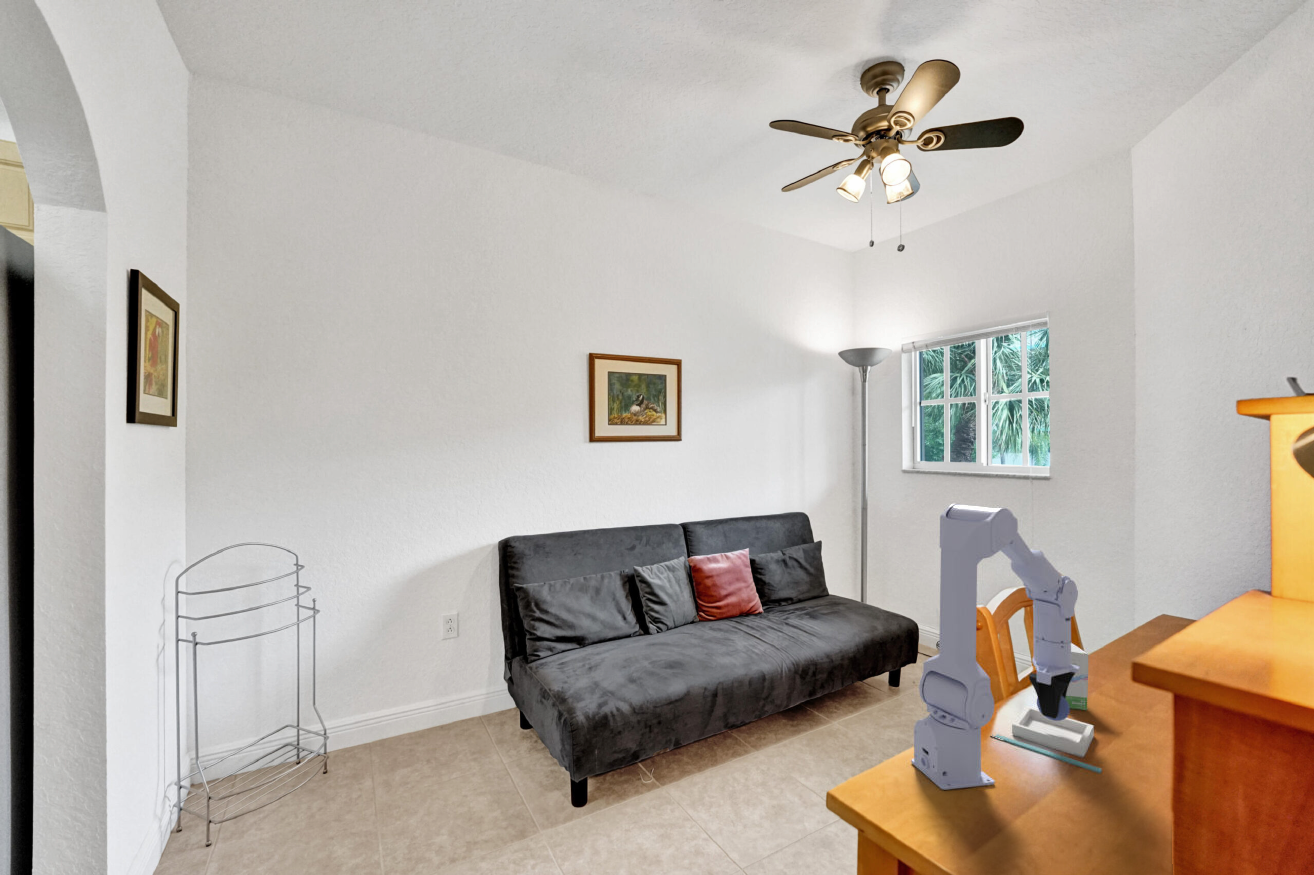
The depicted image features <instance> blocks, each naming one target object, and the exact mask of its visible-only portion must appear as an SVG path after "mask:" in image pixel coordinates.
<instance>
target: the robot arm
mask: <svg viewBox="0 0 1314 875" xmlns="http://www.w3.org/2000/svg"><path fill="white" fill-rule="evenodd" d="M1018 525H1019V523H1018V519H1017V517H1016V516H1015V515H1014V514H1013V513H1012V511H1011V510H1010V509H1008V508H1006V507H1000V508H999V507H988V506H987V507H986V506H977V505H969V504H968V505H966V504H960V503H956V502H955V503H952V504H950V505H948V506H947V507H946V509H945V510H944V511H943V512H942V513H941V514H940V515H939V548H940V576H939V578H940V580H939V581H940V582H939V584H940V585H939V587H940V589H939V592H940V593H939V595H940V596H939V640H938V641H939V645H938V646H939V649H938V651H939V652H938V654H937V655H934V656H931V657H930V658H927V660H925V661H924V662H923V669H922V674H921V677H920V679H919V682H918V683H919V684H918V690H919V697H920V699H921V701H922V702H923V703H924V704H925V705H926V711H927V712H928V713H929V714H928V715H927V716H925V717H924V718H920V719H918V720H917V721H916V722H915V724H914V727H913V740H914V741H913V750H914V751H913V758H911V762H910V763H911V764H913V766H915V767H916V768H917V769H918V770H920V772H922V774H924V775H925V776H926V777H927V778H928V779H929V780H930V781H932V782H933V783H934V784H935V785H936V786H938V788H939V789H941V790H954V789H963V788H964V789H965V788H972V787H980V786H981V787H982V786H990V785H995V780H994V779H993V778H992V777H991V776H989V775H988V774H987V773H985V772H984V771H983V770H982V728H983V727H984V726H986V725H987V724H988V723H990V721H991V719H992V718H993V714H994V713H995V712H994V711H995V698H994V696H993V693H992V690H991V689H992V688H991V678H990V676H989V675H988V673H986V671H985V670H984V669H983V668H982V666H980V664H979V663H978V662H977V657H976V656H977V606H978V605H977V600H978V599H977V598H978V589H977V588H978V565H979V563H980V562H981V561H983V559H987V558H991V557H993V556H995V554H998V553H999V552H1001V553H1003V554H1004V555H1005V556H1006V557H1007V558H1008V559H1009V560H1010V568H1011V570H1012V571H1013V573H1014V574H1015V575H1016V576H1017V577H1018V578H1019V579H1020V580H1021V581H1022V584H1023V586H1024V588H1025V595H1026V596H1027V599H1030V600H1032V604H1033V605H1032V606H1033V608H1032V609H1033V610H1032V612H1033V615H1032V616H1033V623H1032V624H1033V626H1032V627H1033V657H1032V664H1033V666H1034V667H1035V670H1036V673H1034V672H1030V673H1029V674H1028V679H1029V682H1030V683H1031V685H1032V687H1033V688H1034V691H1035V694H1036V695H1037V698H1038V700H1039V704H1040V709H1041V712H1042V715H1044V716H1047V717H1051V718H1054V719H1056V718H1057V715H1058V712H1059V706H1060V700H1061V696H1063V697H1064V698H1066V694H1067V689H1068V686H1069V684H1070V681H1071V679H1072V678H1073V676H1074V675H1075V673H1078V672H1079V671H1080V669H1079V667H1078V666H1075V665H1072V664H1071V643H1072V617H1074V614H1075V606H1076V604H1077V603H1076V602H1077V600H1078V596H1079V590H1078V588H1077V587H1078V586H1077V584H1076V583H1075V581H1074V580H1073V579H1071V578H1070V576H1067V575H1062V574H1061V573H1060V572H1059V571H1058V570H1057V569H1056V568H1055V566H1054V565H1053V564H1052V563H1051V562H1050V561H1049V560H1048V559H1047V557H1045V554H1044V552H1043V551H1041V550H1037V549H1033V548H1030V547H1029V546H1028V545H1027V543H1026V542H1025V540H1024V539H1023V538H1022V536H1021V534H1019V532H1018V529H1019V526H1018Z"/></svg>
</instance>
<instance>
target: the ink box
mask: <svg viewBox="0 0 1314 875" xmlns="http://www.w3.org/2000/svg"><path fill="white" fill-rule="evenodd" d="M1071 664H1072V665H1075V666H1078V667H1079V669H1080V671H1079V672H1078V673H1075V675H1074V676H1073V678H1072V679H1071V681H1070V684H1069V686H1068V689H1067V694H1066V698H1065V699H1066V700H1067V702H1068V704H1069V707H1070V709H1072V710H1082V711H1088V691H1089V690H1088V688H1089V653H1087V652H1086V651H1084V650H1083V649H1081V648H1080V647H1079V646H1077V645H1076V644H1074V643H1072V642H1071Z"/></svg>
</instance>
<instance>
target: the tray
mask: <svg viewBox="0 0 1314 875" xmlns="http://www.w3.org/2000/svg"><path fill="white" fill-rule="evenodd" d="M1094 726H1095V725H1094V724H1093V725H1092V724H1090V723H1087V722H1083V721H1079V720H1076V719H1072V718H1069V717H1067V718H1065V719H1064V720H1061V721H1054V720H1050V719H1048V718H1046V717H1045V716H1044V715H1042V713H1041V712H1040V711H1039V709H1038V708H1034V707H1031V706H1027V705H1026V706H1025V707H1024V709H1023V710H1022V711H1021V712H1020V714H1019V715H1018V716H1017V718H1016V719H1015V720H1014V721H1013V722H1012V723H1011V735H1012V734H1013V735H1012V736H1014V735H1015V736H1014V737H1017V738H1019V739H1024V740H1026V741H1030V742H1032V743H1035V744H1039V745H1043V746H1045V747H1049V748H1051V749H1054V750H1057V751H1060V752H1064V753H1066V754H1069V755H1073V756H1076V757H1078V758H1082V759H1084V758H1085V756H1086V754H1087V752H1088V749H1089V747H1090V746H1091V743H1092V741H1093V739H1094V737H1095V734H1094V733H1095V731H1094V730H1095V729H1094V728H1095V727H1094Z"/></svg>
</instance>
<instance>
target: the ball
mask: <svg viewBox="0 0 1314 875" xmlns="http://www.w3.org/2000/svg"><path fill="white" fill-rule="evenodd" d="M1036 705H1037V706H1036V707H1037V709H1038V710H1039V711H1040V712H1041V709H1040V704H1039V700H1038V697H1037V699H1036ZM1070 709H1071V708H1070V707H1069V704H1068V702H1067V700H1066V699H1065V698H1064V697H1063V696H1061V700H1060V706H1059V712H1058V715H1057V718H1056V719H1054V718H1051V717H1047V716H1045V717H1046V718H1048V719H1050V720H1054V721H1061V720H1064V719H1065V718H1068V717H1069V714H1070V711H1071V710H1070ZM1041 713H1042V712H1041Z"/></svg>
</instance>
